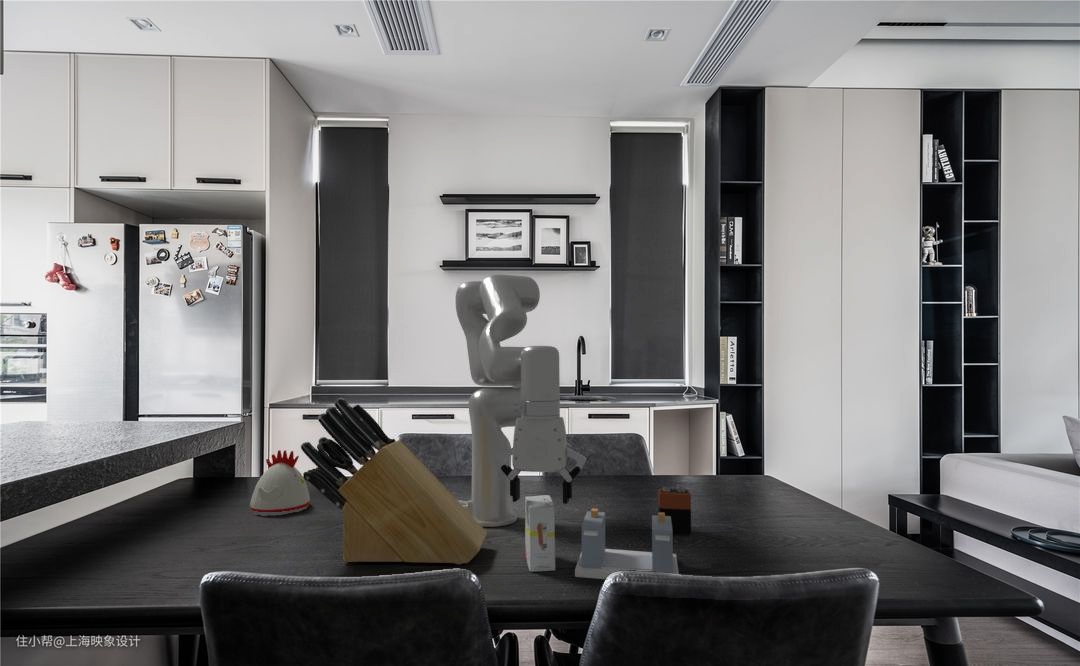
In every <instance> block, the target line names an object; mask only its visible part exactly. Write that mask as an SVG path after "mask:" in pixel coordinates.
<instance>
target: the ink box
mask: <svg viewBox="0 0 1080 666" xmlns="http://www.w3.org/2000/svg"><path fill="white" fill-rule="evenodd" d="M524 498H525V499H524V502H525V503H524V506H525V507H524V511H525V512H524V517H525V518H524V522H525V523H524V526H525V527H524V534H525V535H524V557H525V560H526V565H527V566H528V570H529V572H551V571H556V543H555V542H556V538H555V535H556V534H555V532H556V531H555V529H556V527H555V526H556V525H555V520H556V519H555V503H554V501H553V500H552V498H551V496H550V495H549V494H544V495H542V494H541V495H532V496H524Z"/></svg>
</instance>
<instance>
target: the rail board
mask: <svg viewBox="0 0 1080 666" xmlns="http://www.w3.org/2000/svg"><path fill="white" fill-rule="evenodd" d="M673 535H674V534H673V530H672V523H671V516H665V513H664V512H657V515H655V514H654V515H651V542H652V543H651V548H652V549H651V551H639V550H627V549H626V550H625V549H615V548H614V549H612V548H606V512H604V511H599V509H598V508H593V507H592V508H591V510H589V511H586V514H585V516H584V518H583V521H582V523H581V552H580V555H579V558H578V560H577V563H576V566H575V569H574V577H576V578H586V579H595V580H596V579H599V580H606V579H605V578H606V577H607V576H608V575H610V574H611V573H613V572H615V571H620V570H636V571H656V572H667V573H677V574H679V566H678V559H677V553H674V547H673V544H674V543H673V541H674V537H673ZM679 575H680V574H679Z"/></svg>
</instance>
